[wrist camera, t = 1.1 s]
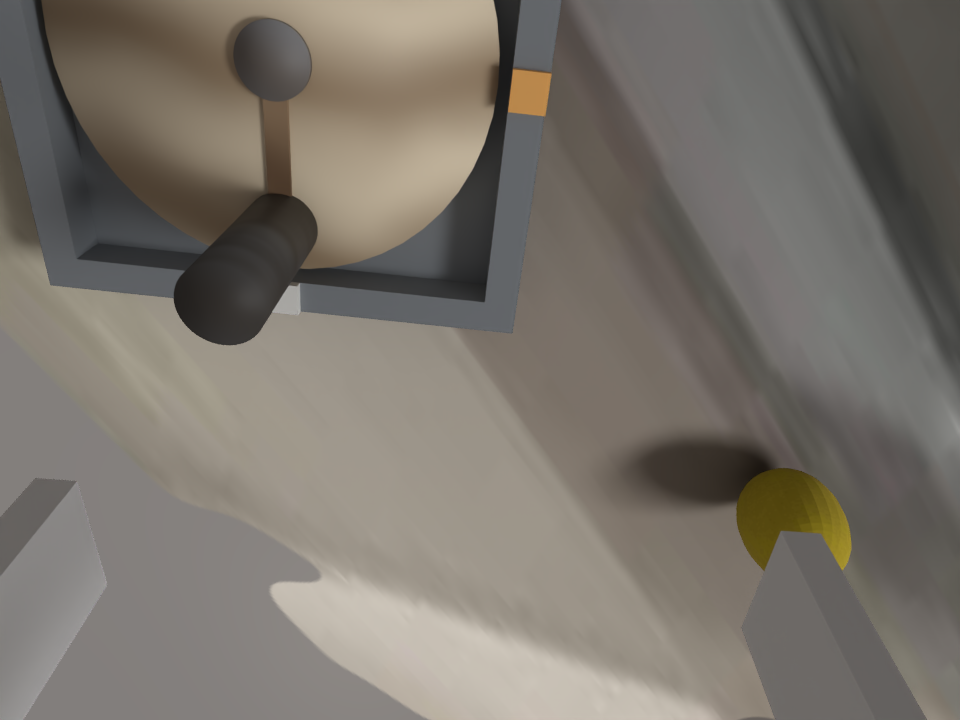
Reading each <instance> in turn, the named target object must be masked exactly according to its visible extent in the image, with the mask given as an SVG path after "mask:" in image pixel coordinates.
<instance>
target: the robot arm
mask: <svg viewBox="0 0 960 720" xmlns="http://www.w3.org/2000/svg"><path fill="white" fill-rule="evenodd" d="M106 586H107V582H106V578H105V575H104V571H103V568H102V564H101V561H100V558H99V554H98V551H97V547H96V544H95V540H94V537H93V534H92V530H91V527H90V523H89V520H88V516H87V513H86V509H85V506H84V503H83V499H82V496H81V492H80V489H79V485H78V482H77V481H68V480H55V479H40V478H35V479H34V480H33V481H32V483H31V484H30V485H29V486H28V487H27V488H26V489H25V490H24V491H23V493H22V494H21V495H20V496H19V497H18V498H17V499H16V501H15V502H14V503H13V504H12V505H11V506H10V507H9V508H8V510H6V512H5V513H4V514H3V515H2V516H1V517H0V720H23V719H24V718H25V716H26V714H27V713H28V711H29V710H30V708H31V706H32V705H33V703H34V702H35V700H36V698H37V697H38V695H39V694H40V692H41V690H42V689H43V687H44V686H45V684H46V682H47V681H48V679H49V678H50V676H51V674H52V672H53V671H54V670H55V668H56V666H57V665H58V663H59V662H60V660H61V658H62V657H63V655H64V654H65V652H66V650H67V649H68V647H69V646H70V644H71V642H72V641H73V639H74V638H75V636H76V634H77V633H78V631H79V629H80V628H81V626H82V624H83V623H84V621H85V620H86V618H87V617H88V615H89V614H90V612H91V610H92V609H93V607H94V605H95V604H96V602H97V601H98V599H99V597H100V596H101V594H102V593H103V591H104V589H105V588H106ZM741 628H742V631H743V633H744V636H745V639H746V642H747V644H748V647H749V650H750V652H751V655H752V658H753V661H754V663H755V666H756V669H757V671H758V674H759V677H760V679H761V682H762V685H763V688H764V690H765V693H766V696H767V698H768V701H769V704H770V706H771V709H772V712H773V715H774V717H775V720H927V719H926V717H925V715H924V714H923V712H922V710H921V708H920V707H919V705H918V703H917V701H916V700H915V698H914V696H913V694H912V693H911V691H910V689H909V687H908V686H907V684H906V682H905V680H904V679H903V677H902V675H901V673H900V672H899V670H898V668H897V666H896V665H895V663H894V661H893V659H892V657H891V656H890V654H889V652H888V650H887V649H886V647H885V645H884V643H883V642H882V640H881V638H880V636H879V635H878V633H877V631H876V629H875V628H874V626H873V624H872V622H871V621H870V619H869V617H868V615H867V614H866V612H865V610H864V608H863V607H862V605H861V603H860V601H859V600H858V598H857V596H856V594H855V593H854V591H853V589H852V587H851V586H850V584H849V582H848V580H847V579H846V577H845V575H844V573H843V572H842V570H841V568H840V566H839V565H838V563H837V561H836V559H835V557H834V556H833V554H832V552H831V550H830V549H829V547H828V545H827V543H826V542H825V540H824V538H823V536H822V535H821V534H818V533H804V532H790V531H781V532H780V534H779V536H778V539H777V541H776V544H775V546H774V549H773V551H772V554H771V556H770V559H769V561H768V564H767V566H766V568H765V571H764V573H763V576H762V578H761V581H760V583H759V586H758V588H757V591H756V593H755V595H754V598H753V600H752V603H751V605H750V608H749V610H748V613H747V615H746V618H745V620H744V622H743V625H742V627H741Z"/></svg>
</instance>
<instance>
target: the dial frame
mask: <svg viewBox="0 0 960 720" xmlns="http://www.w3.org/2000/svg"><path fill="white" fill-rule="evenodd" d="M494 3H495V8H496V13H497V19H498V33H499V47H500V57H499V78H498V90H497V95H496V101H495V107H494V113H493V117H492V121H491V124H490V127H489V130H488V134H487V137H486V140H485V143H484V146H483V148H482V150H481V152H480V155H479V157H478V159H477V161H476V163H475V166H474V168H473V170H472V171H471V173H470V175H469V176H468V178H467V179H466V181H465V183H464V184H463V186H462V187H461V189H460V190H459V192H458V193H457V194H456V196H455V197H454V198H453V199H452V200H451V202H450V203H449V204H448V205H447V206H446V208H445V209H444V210H443V211H442V212H441V213H440V214H439V215H438V216H437V217H436V218H435V219H434V220H433V221H432V222H430V223H429V224H428V225H427V226H426V227H425V228H424V229H423V230H421V231H420V232H418V233H417V234H415V235H414V236H412V237H411V238H410V239H408V240H407V241H405V242H404V243H402V244H400V245H398V246H396V247H394V248H392V249H390V250H388V251H386V252H384V253H382V254H380V255H377V256H374V257H371V258H368V259H365V260H363V261H360V262H356V263H351V264H346V265H341V266H337V267H328V268H315V269H301V268H300V269H299V270H298V272H297V273H296V275H295V277H294V278H293V280H292V281H291V283H290V284H289V286H288V288H287V289H286V291H285V292H284V294H283V295H282V297H281V299H280V300H279V302H278V303H277V305H276V306H275V308H274V310H273V311H272V312H273V313H282V314H292V315H299V313H300V312H301V311H302V312H311V313H321V314H331V315H340V316H350V317H359V318H369V319H378V320H388V321H398V322H407V323H417V324H426V325H436V326H445V327H455V328H465V329H474V330H484V331H493V332H503V333H513V326H514V319H515V312H516V305H517V299H518V292H519V285H520V278H521V272H522V265H523V258H524V251H525V244H526V238H527V231H528V224H529V217H530V211H531V204H532V197H533V190H534V183H535V177H536V170H537V163H538V156H539V149H540V143H541V136H542V129H543V122H544V116H545V115H546V108H547V101H548V94H549V88H550V81H551V68H552V61H553V55H554V48H555V41H556V34H557V27H558V21H559V14H560V7H561V0H494ZM0 79H1V83H2V87H3V92H4V96H5V100H6V104H7V108H8V112H9V116H10V120H11V125H12V129H13V133H14V137H15V141H16V145H17V149H18V153H19V158H20V162H21V166H22V170H23V174H24V178H25V182H26V186H27V190H28V195H29V199H30V203H31V207H32V211H33V215H34V219H35V223H36V228H37V232H38V236H39V240H40V244H41V248H42V252H43V256H44V261H45V265H46V269H47V273H48V277H49V281H50V285H53V286H63V287H72V288H82V289H91V290H101V291H111V292H120V293H130V294H139V295H149V296H158V297H168V298H174V288H175V285H176V282H177V280H178V279H179V277H180V276H181V275H182V274H183V273H184V272H185V271H186V270H187V269H188V268H189V267H190V266H191V265H192V264H193V263H194V262H195V261H196V260H197V259H198V258H199V257H200V256H201V255H202V254H203V253H204V252H205V251H206V250H207V249H208V248H209V246H208V245H206V244H204V243H202V242H200V241H198V240H197V239H195V238H193V237H191V236H189V235H187V234H185V233H184V232H182V231H181V230H179V229H178V228H176V227H175V226H174V225H172V224H171V223H169V222H168V221H166V220H165V219H163V218H162V217H160V216H159V215H158V214H157V213H156V212H154V211H153V210H152V209H151V208H150V207H149V206H147V205H146V204H145V203H144V202H143V201H141V200H140V199H139V198H138V197H137V196H136V195H135V194H134V193H133V192H132V191H131V190H130V189H129V188H128V187H127V186H126V185H125V184H124V183H123V182H122V181H121V180H120V179H119V177H118V176H117V175H116V174H115V173H114V171H113V170H112V169H111V168H110V166H109V165H108V164H107V163H106V161H105V160H104V159H103V158H102V156H101V155H100V154H99V153H98V151H97V150H96V148H95V147H94V145H93V143H92V142H91V140H90V139H89V137H88V136H87V134H86V132H85V131H84V129H83V128H82V126H81V125H80V123H79V121H78V119H77V117H76V115H75V113H74V111H73V109H72V107H71V105H70V103H69V101H68V99H67V97H66V94H65V92H64V89H63V87H62V84H61V81H60V79H59V76H58V73H57V71H56V68H55V65H54V62H53V58H52V54H51V50H50V46H49V43H48V39H47V35H46V29H45V22H44V15H43V8H42V1H41V0H0Z"/></svg>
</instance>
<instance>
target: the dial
mask: <svg viewBox="0 0 960 720" xmlns="http://www.w3.org/2000/svg"><path fill="white" fill-rule="evenodd" d="M41 1H42V8H43V15H44V22H45V29H46V35H47V39H48V43H49V46H50V50H51V54H52V58H53V62H54V65H55V68H56V71H57V73H58V76H59V79H60V81H61V84H62V87H63V89H64V92H65V94H66V97H67V99H68V101H69V103H70V105H71V107H72V109H73V111H74V113H75V115H76V117H77V119H78V121H79V123H80V125H81V126H82V128H83V129H84V131H85V132H86V134H87V136H88V137H89V139H90V140H91V142H92V143H93V145H94V147H95V148H96V150H97V151H98V153H99V154H100V155H101V156H102V158H103V159H104V160H105V161H106V163H107V164H108V165H109V166H110V168H111V169H112V170H113V171H114V173H115V174H116V175H117V176H118V177H119V179H120V180H121V181H122V182H123V183H124V184H125V185H126V186H127V187H128V188H129V189H130V190H131V191H132V192H133V193H134V194H135V195H136V196H137V197H138V198H139V199H140V200H141V201H143V202H144V203H145V204H146V205H147V206H149V207H150V208H151V209H152V210H153V211H154V212H156V213H157V214H158V215H159V216H160V217H162V218H163V219H165V220H166V221H168V222H169V223H171V224H172V225H174V226H175V227H176V228H178V229H179V230H181V231H182V232H184V233H185V234H187V235H189V236H191V237H193V238H195V239H197V240H198V241H200V242H202V243H204V244H206V245H208V246H209V248H208V249H207V250H206V251H205V252H204V253H203V254H202V255H201V256H200V257H199V258H198V259H197V260H196V261H195V262H194V263H193V264H192V265H191V266H190V267H189V268H188V269H187V270H186V271H185V272H184V273H183V274H182V275H181V276H180V277H179V279H178V280H177V282H176V285H175V288H174V304H175V307H176V310H177V313H178V315H179V317H180V318H181V320H182V321H183V322H184V324H185V325H186V326H187V327H188V328H189V329H190V330H191V331H192V332H194V333H195V334H196V335H198V336H199V337H201V338H203V339H205V340H207V341H210V342H212V343H216V344H221V345H237V344H241V343H244V342H247V341H249V340H251V339H252V338H253V337H255V336H256V335H257V334H258V333H259V331H260V330H261V328H262V327H263V325H264V324H265V322H266V321H267V319H268V317H269V316H270V314H271V313H272V311H273V310H274V308H275V306H276V305H277V303H278V302H279V300H280V299H281V297H282V295H283V294H284V292H285V291H286V289H287V288H288V286H289V284H290V283H291V281H292V280H293V278H294V277H295V275H296V273H297V272H298V270H299V269H300V268H301V269H315V268H328V267H337V266H341V265H346V264H351V263H356V262H360V261H363V260H365V259H368V258H371V257H374V256H377V255H380V254H382V253H384V252H386V251H388V250H390V249H392V248H394V247H396V246H398V245H400V244H402V243H404V242H405V241H407V240H408V239H410V238H411V237H412V236H414V235H415V234H417V233H418V232H420V231H421V230H423V229H424V228H425V227H426V226H427V225H428V224H429V223H430V222H432V221H433V220H434V219H435V218H436V217H437V216H438V215H439V214H440V213H441V212H442V211H443V210H444V209H445V208H446V206H447V205H448V204H449V203H450V202H451V200H452V199H453V198H454V197H455V196H456V194H457V193H458V192H459V190H460V189H461V187H462V186H463V184H464V183H465V181H466V179H467V178H468V176H469V175H470V173H471V171H472V170H473V168H474V166H475V163H476V161H477V159H478V157H479V155H480V152H481V150H482V148H483V146H484V143H485V140H486V137H487V134H488V130H489V127H490V124H491V121H492V117H493V113H494V107H495V101H496V95H497V90H498V78H499V57H500V47H499V33H498V19H497V13H496V8H495V3H494V0H41Z"/></svg>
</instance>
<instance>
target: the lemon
mask: <svg viewBox="0 0 960 720" xmlns="http://www.w3.org/2000/svg"><path fill="white" fill-rule="evenodd" d="M736 509H737V526H738V530H739V532H740V535H741V538H742V540H743V543H744V545H745V547H746V549H747V551H748V552H749V554H750V555H751V557H752V558H753V559H754V560H755V562H756V563H757V564H758V565H759V566H760V567H761V568H762V569H763V570H764V571H765V568H766V566H767V564H768V561H769V559H770V556H771V554H772V551H773V549H774V546H775V544H776V541H777V539H778V536H779V534H780V532H781V531H790V532H804V533H818V534H821V535H822V536H823V538H824V540H825V542H826V543H827V545H828V547H829V549H830V550H831V552H832V554H833V556H834V557H835V559H836V561H837V563H838V565H839V566H840V568H841V570H843V569H844V567H845V566H846V564H847V562H848V559H849V556H850V552H851V536H850V529H849V525H848V522H847V519H846V517H845V514H844V512H843V510H842V508H841V506H840V505H839V503H838V501H837V499H836V498H835V496H834V495H833V494H832V493H831V492H830V491H829V490H828V489H827V488H826V487H825V486H824V485H823V484H822V483H821V482H820V481H818V480H817V479H816V478H814V477H812V476H810V475H808V474H806V473H804V472H802V471H799V470H794V469H789V468H777V469H772V470H768V471H765V472H762V473H760V474H758V475H757V476H755V477H754V478H752V479H751V480H750V481H749V482H748V483H747V484H746V486H745V487H744V489H743V490H742V492H741V493H740V496H739V499H738V502H737V508H736Z"/></svg>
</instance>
